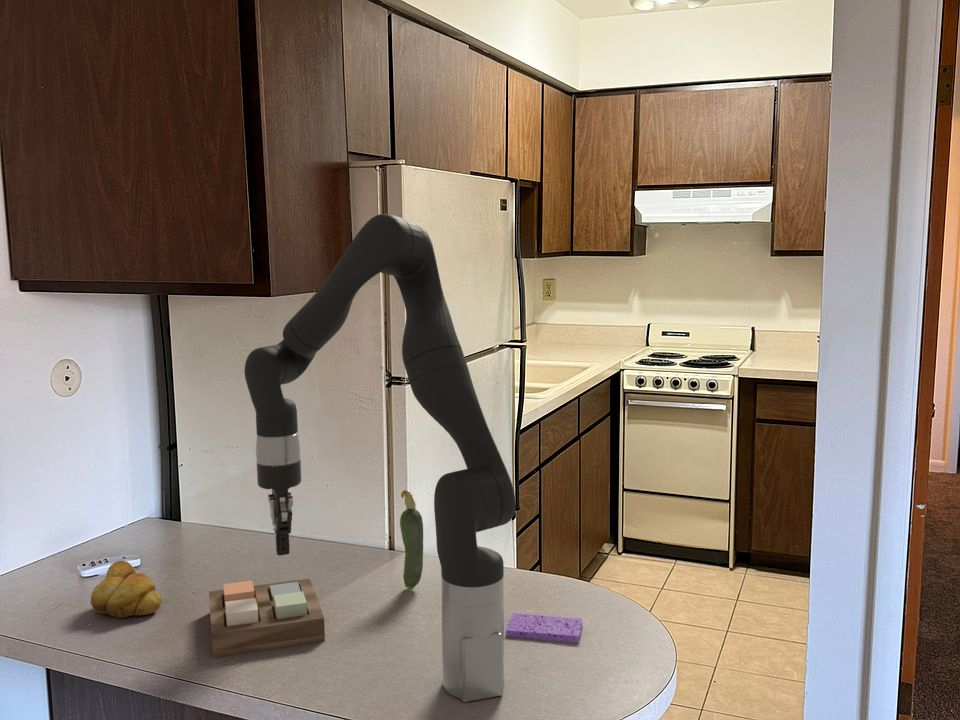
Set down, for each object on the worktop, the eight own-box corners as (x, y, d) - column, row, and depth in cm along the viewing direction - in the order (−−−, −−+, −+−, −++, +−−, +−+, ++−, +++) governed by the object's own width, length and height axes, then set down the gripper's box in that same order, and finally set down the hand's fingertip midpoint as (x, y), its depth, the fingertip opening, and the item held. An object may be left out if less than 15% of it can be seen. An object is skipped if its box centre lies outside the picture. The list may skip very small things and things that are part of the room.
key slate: (301, 608, 152) (301, 592, 151) (273, 612, 150) (272, 596, 150) (298, 597, 156) (297, 581, 156) (270, 601, 155) (269, 585, 154)
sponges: (578, 646, 141) (578, 635, 141) (504, 639, 144) (504, 628, 144) (583, 627, 148) (583, 617, 148) (512, 621, 151) (512, 611, 151)
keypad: (324, 640, 143) (324, 617, 142) (212, 657, 137) (211, 634, 137) (310, 598, 160) (309, 578, 159) (210, 612, 154) (208, 591, 154)
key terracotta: (255, 607, 149) (254, 591, 149) (225, 611, 148) (224, 595, 147) (253, 596, 154) (252, 580, 153) (224, 600, 152) (223, 584, 152)
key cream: (258, 626, 142) (257, 609, 141) (227, 631, 140) (226, 613, 140) (256, 614, 146) (255, 597, 146) (226, 618, 145) (225, 601, 144)
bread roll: (174, 607, 157) (171, 566, 155) (131, 629, 148) (128, 585, 147) (124, 595, 162) (121, 555, 161) (80, 615, 154) (77, 572, 153)
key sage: (307, 619, 144) (306, 602, 144) (277, 623, 143) (276, 606, 142) (303, 607, 149) (302, 591, 148) (274, 611, 147) (273, 595, 147)
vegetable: (426, 586, 165) (424, 486, 162) (422, 595, 161) (420, 493, 158) (403, 586, 165) (401, 486, 163) (399, 595, 161) (397, 492, 158)
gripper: (305, 465, 145) (309, 563, 147) (295, 448, 157) (299, 539, 159) (259, 469, 142) (264, 569, 144) (253, 452, 154) (258, 544, 157)
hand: (282, 553), depth 152 cm, fingers closed
